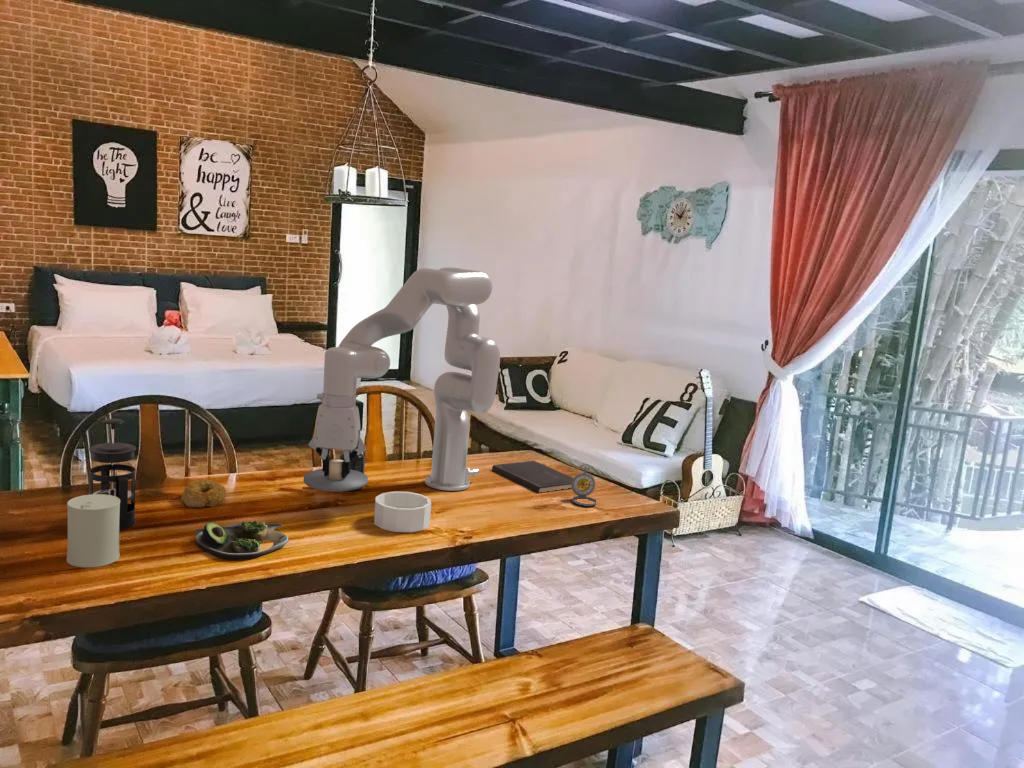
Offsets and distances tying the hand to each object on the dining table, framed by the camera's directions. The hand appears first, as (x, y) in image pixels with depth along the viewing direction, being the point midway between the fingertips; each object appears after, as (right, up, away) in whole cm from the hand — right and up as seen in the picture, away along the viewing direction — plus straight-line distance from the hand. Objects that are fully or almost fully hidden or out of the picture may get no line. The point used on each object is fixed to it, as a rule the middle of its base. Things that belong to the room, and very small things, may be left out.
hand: (336, 474), depth 193 cm
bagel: (-32, -7, +1) cm, 33 cm away
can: (-39, -12, -36) cm, 55 cm away
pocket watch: (+62, -11, +30) cm, 69 cm away
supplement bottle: (-1, -6, +22) cm, 23 cm away
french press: (-44, -9, -18) cm, 49 cm away
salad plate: (-16, -13, -22) cm, 30 cm away
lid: (0, -2, 0) cm, 2 cm away
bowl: (+16, -11, 0) cm, 19 cm away
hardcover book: (+49, -7, +47) cm, 68 cm away
